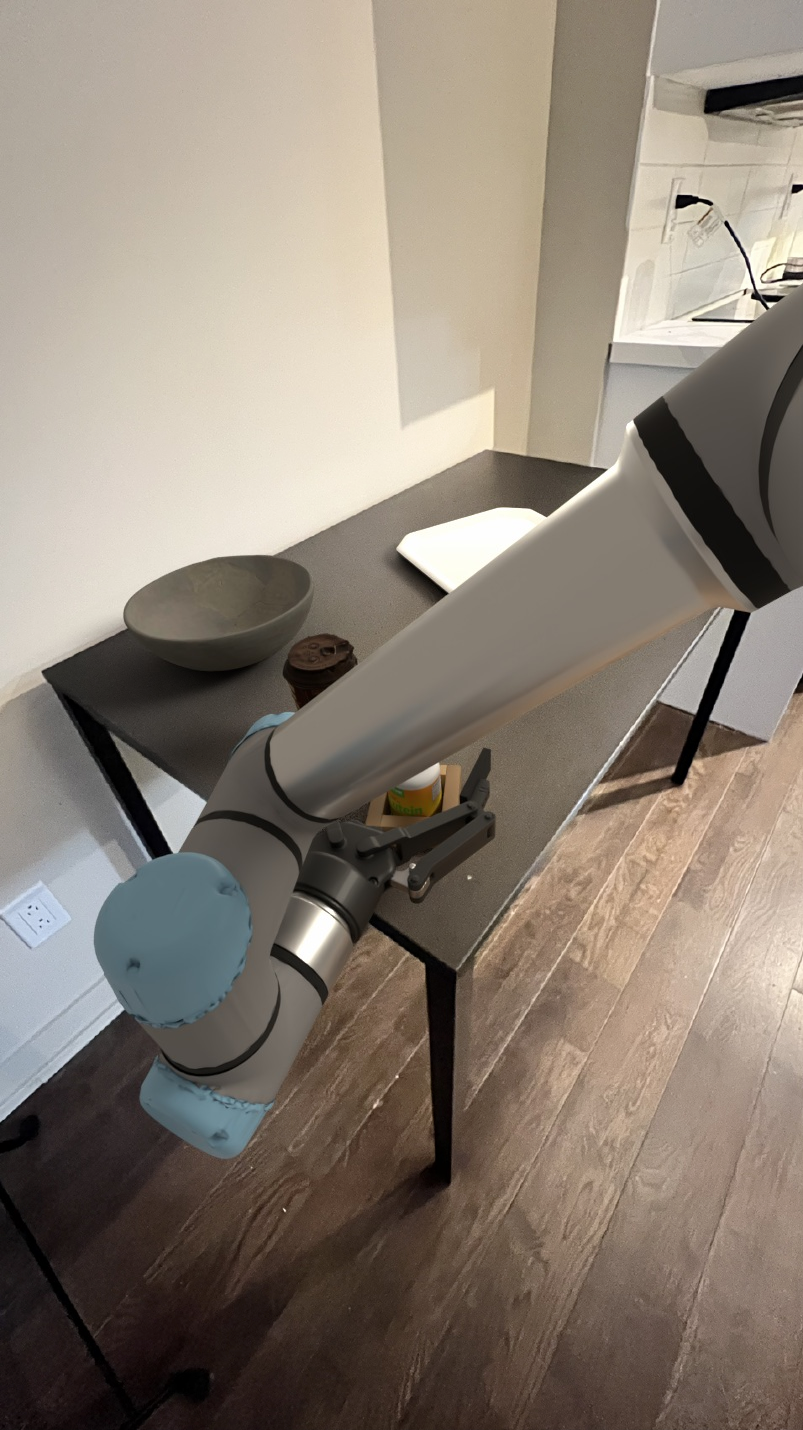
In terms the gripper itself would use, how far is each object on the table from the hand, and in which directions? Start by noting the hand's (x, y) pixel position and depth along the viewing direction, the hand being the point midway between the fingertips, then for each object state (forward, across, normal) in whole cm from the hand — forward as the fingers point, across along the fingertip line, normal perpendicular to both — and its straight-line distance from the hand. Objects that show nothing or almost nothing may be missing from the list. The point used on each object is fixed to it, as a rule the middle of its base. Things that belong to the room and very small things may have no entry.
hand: (421, 742), depth 62 cm
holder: (-3, 0, -8) cm, 8 cm away
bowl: (+18, -38, -8) cm, 43 cm away
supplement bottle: (-3, 0, -8) cm, 8 cm away
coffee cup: (+5, -14, -8) cm, 16 cm away
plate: (+56, -10, -8) cm, 57 cm away
